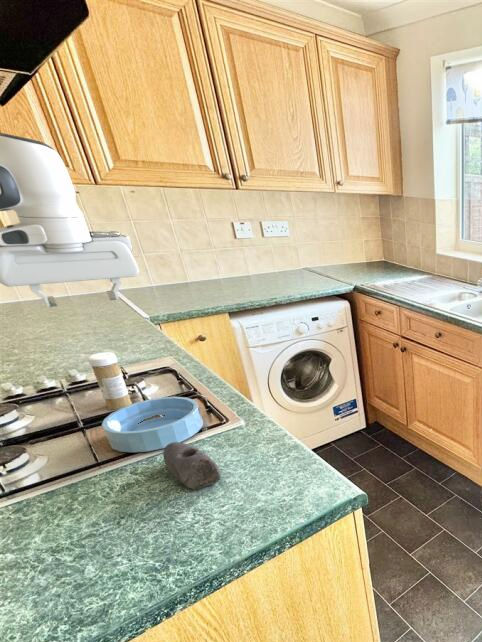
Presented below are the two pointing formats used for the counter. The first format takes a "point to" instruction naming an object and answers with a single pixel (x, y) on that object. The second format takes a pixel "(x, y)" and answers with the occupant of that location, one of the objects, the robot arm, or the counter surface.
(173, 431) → the bowl
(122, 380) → the sprinkles bottle
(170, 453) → the perforated stone tool
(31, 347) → the counter surface
